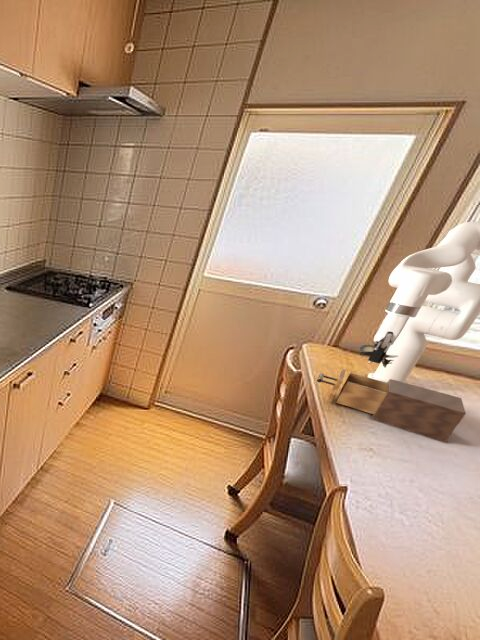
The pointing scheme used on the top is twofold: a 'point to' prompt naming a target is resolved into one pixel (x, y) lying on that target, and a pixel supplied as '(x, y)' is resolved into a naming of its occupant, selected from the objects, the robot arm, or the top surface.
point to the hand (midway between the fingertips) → (374, 358)
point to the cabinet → (420, 410)
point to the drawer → (357, 391)
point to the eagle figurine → (368, 351)
